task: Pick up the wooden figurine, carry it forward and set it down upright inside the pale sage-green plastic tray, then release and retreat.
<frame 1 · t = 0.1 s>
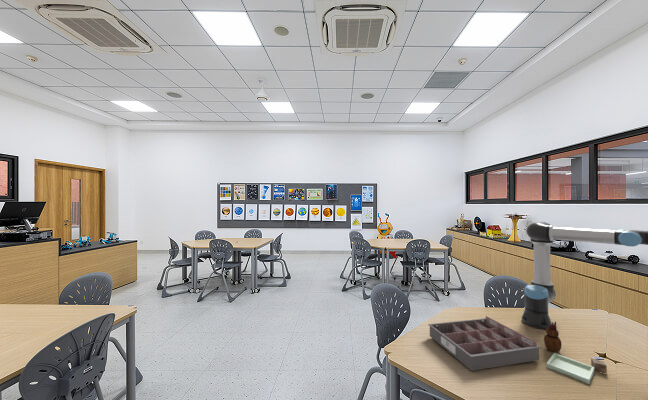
walnut cube: (598, 370, 117), on the table
organizer tray: (479, 350, 133), on the table
wooden figurine: (552, 350, 133), on the table
green tray: (570, 369, 117), on the table
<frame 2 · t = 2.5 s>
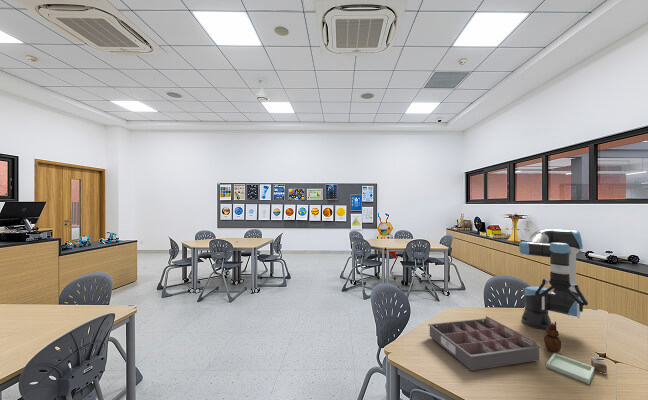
hand: (560, 313, 133), 20 cm above the table, fingers open, 13 cm apart
nothing on the table moved.
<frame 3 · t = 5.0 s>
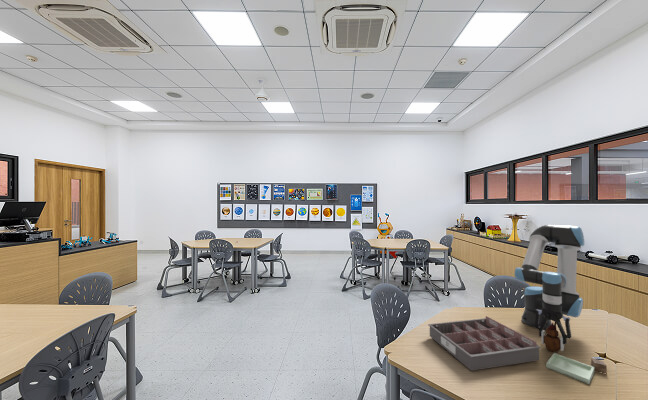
hand: (552, 346, 133), 2 cm above the table, fingers closed on wooden figurine, 7 cm apart
wooden figurine: (552, 350, 133), on the table, touching gripper
everything else where it was.
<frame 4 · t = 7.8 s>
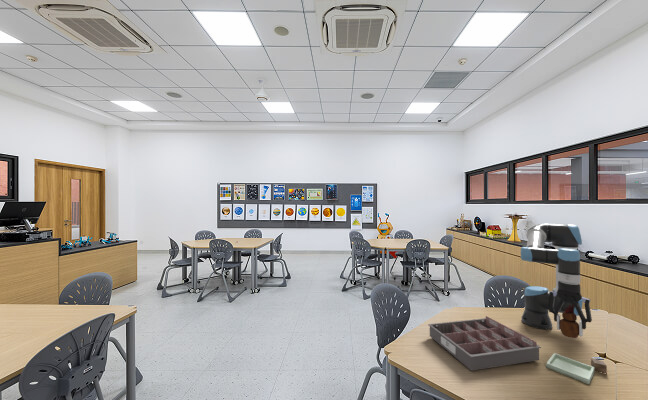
hand: (569, 332, 118), 17 cm above the table, fingers closed on wooden figurine, 7 cm apart
wooden figurine: (569, 336, 118), point 15 cm above the table, touching gripper
everything else where it was.
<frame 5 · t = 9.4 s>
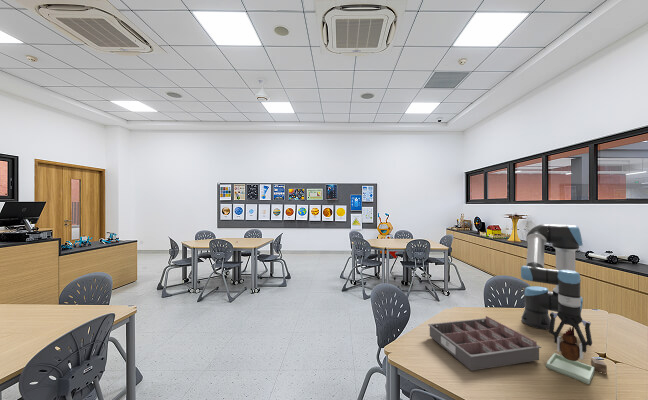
hand: (570, 354, 117), 7 cm above the table, fingers closed on wooden figurine, 7 cm apart
wooden figurine: (570, 359, 117), point 5 cm above the table, touching gripper
everything else where it was.
when the fingers open (3 cm above the table, at t = 10.6 s): wooden figurine stays where it is, resting on green tray.
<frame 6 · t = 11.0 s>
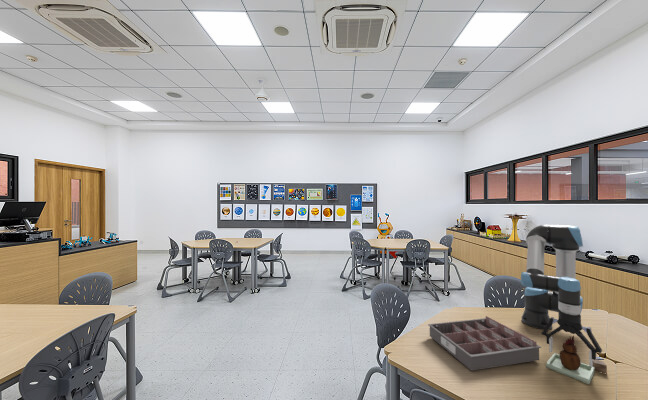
hand: (570, 358, 117), 5 cm above the table, fingers open, 13 cm apart
wooden figurine: (569, 368, 117), resting on green tray
everything else where it was.
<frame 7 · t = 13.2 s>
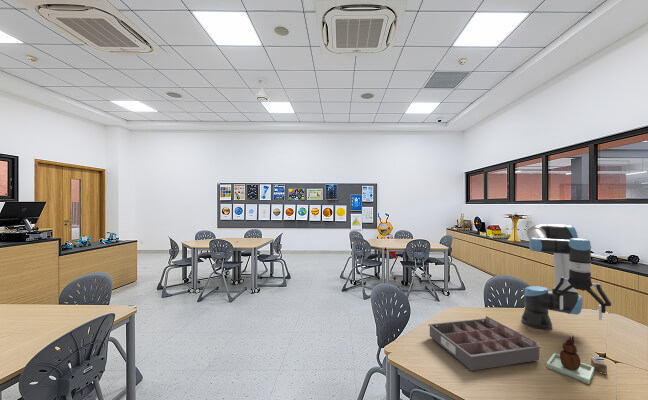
hand: (580, 313, 124), 23 cm above the table, fingers open, 13 cm apart
nothing on the table moved.
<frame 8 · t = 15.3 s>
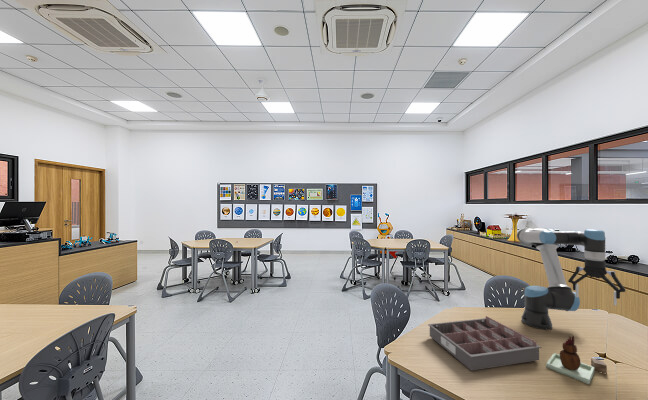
hand: (595, 300, 132), 27 cm above the table, fingers open, 13 cm apart
nothing on the table moved.
at the end: wooden figurine inside the target area on the green tray (0.1 cm from its centre), point 0.4 cm above the green tray's base; wooden figurine tilted 0°; the gripper is holding nothing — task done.
